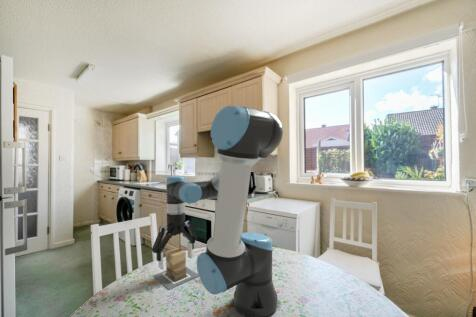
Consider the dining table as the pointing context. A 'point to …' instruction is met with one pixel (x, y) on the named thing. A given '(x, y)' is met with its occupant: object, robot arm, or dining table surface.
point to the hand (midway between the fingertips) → (176, 262)
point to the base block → (176, 273)
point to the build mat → (170, 283)
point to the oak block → (175, 259)
